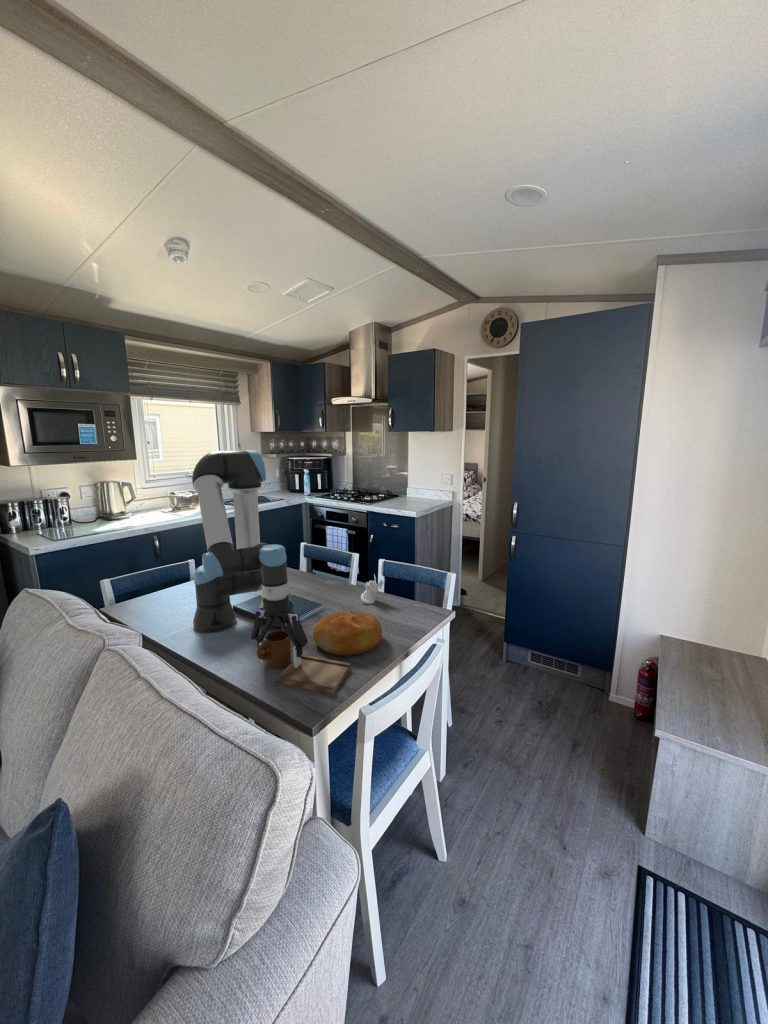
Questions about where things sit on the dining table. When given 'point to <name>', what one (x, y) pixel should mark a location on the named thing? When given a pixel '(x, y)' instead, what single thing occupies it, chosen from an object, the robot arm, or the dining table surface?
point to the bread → (347, 633)
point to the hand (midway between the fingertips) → (280, 663)
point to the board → (315, 674)
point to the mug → (276, 650)
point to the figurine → (371, 591)
